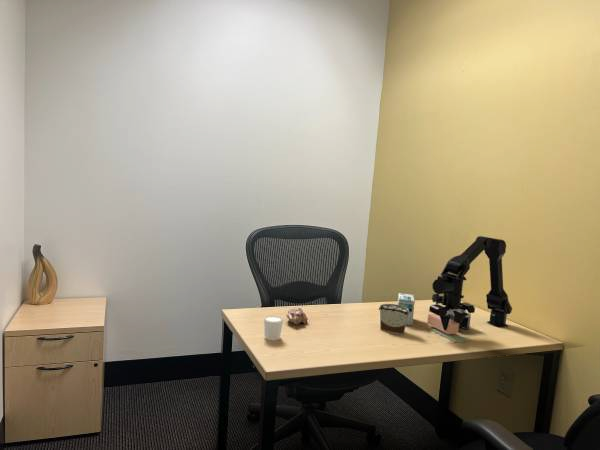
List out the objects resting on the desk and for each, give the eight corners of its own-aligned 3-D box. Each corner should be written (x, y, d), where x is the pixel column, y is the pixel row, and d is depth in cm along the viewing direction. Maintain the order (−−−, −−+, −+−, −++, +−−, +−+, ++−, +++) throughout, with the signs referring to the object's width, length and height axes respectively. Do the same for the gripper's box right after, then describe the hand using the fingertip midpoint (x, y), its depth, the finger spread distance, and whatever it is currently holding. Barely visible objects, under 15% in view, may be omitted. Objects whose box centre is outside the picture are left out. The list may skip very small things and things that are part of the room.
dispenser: (452, 321, 204) (453, 307, 204) (469, 329, 195) (470, 314, 195) (436, 323, 201) (437, 308, 200) (452, 331, 192) (454, 315, 191)
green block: (443, 329, 193) (443, 327, 193) (468, 341, 181) (468, 339, 181) (431, 330, 191) (431, 328, 191) (455, 342, 178) (455, 341, 178)
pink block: (437, 322, 197) (438, 313, 196) (458, 333, 185) (459, 323, 184) (427, 323, 195) (428, 314, 194) (447, 334, 183) (448, 324, 182)
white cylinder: (267, 341, 165) (268, 322, 164) (260, 335, 171) (261, 316, 170) (284, 339, 168) (286, 321, 168) (276, 333, 174) (278, 315, 174)
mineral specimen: (314, 322, 185) (307, 309, 183) (298, 333, 183) (291, 320, 180) (302, 313, 196) (295, 300, 193) (287, 323, 194) (280, 310, 191)
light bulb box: (412, 325, 195) (415, 300, 194) (396, 323, 196) (398, 298, 195) (411, 318, 205) (414, 294, 204) (396, 316, 207) (398, 292, 205)
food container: (410, 331, 188) (413, 307, 187) (407, 335, 182) (409, 310, 181) (380, 324, 193) (382, 301, 192) (376, 329, 187) (379, 305, 186)
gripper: (457, 285, 195) (453, 321, 197) (422, 287, 187) (418, 324, 189) (477, 292, 185) (473, 330, 186) (441, 294, 177) (436, 334, 179)
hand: (449, 329), depth 185 cm, fingers closed on pink block, 5 cm apart
